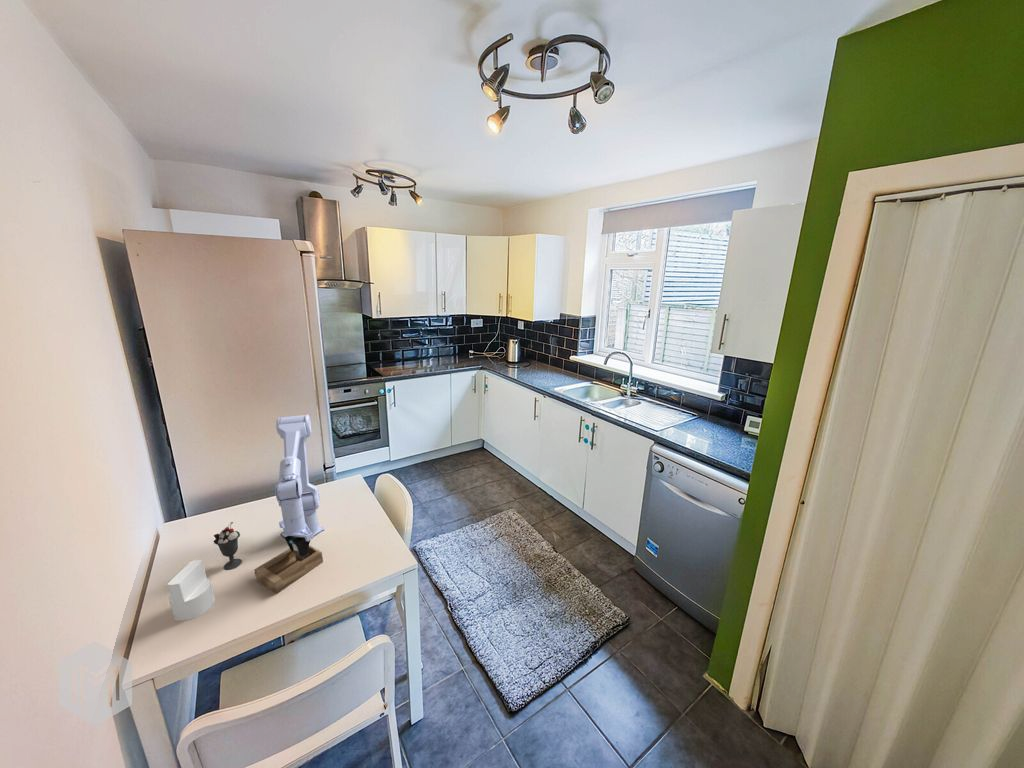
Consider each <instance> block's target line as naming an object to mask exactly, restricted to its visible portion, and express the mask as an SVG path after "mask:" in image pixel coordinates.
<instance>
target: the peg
mask: <svg viewBox="0 0 1024 768" xmlns="http://www.w3.org/2000/svg"><path fill="white" fill-rule="evenodd" d="M296 538H298V537H297V536H292V537H291V538H290V539H289V542H290V544H292V546H293V550H294V554H295V558H296V561H297V562H298V561H300V562H301V561H303V560H304V559H306V558H307V557H308V553H307V554H306V555H304V556H303V557H301V556H300V554H299V551H298V548H297V546H296V545H295V544H294V543H293V542H292V540H294V539H296Z"/></svg>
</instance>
